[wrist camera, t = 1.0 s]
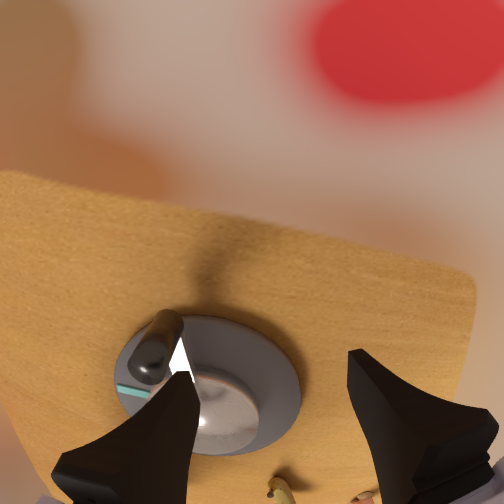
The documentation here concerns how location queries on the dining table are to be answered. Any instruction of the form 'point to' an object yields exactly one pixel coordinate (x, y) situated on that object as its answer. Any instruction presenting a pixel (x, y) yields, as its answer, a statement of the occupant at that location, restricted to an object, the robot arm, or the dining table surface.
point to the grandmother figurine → (364, 499)
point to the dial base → (234, 362)
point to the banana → (280, 491)
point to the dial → (197, 386)
